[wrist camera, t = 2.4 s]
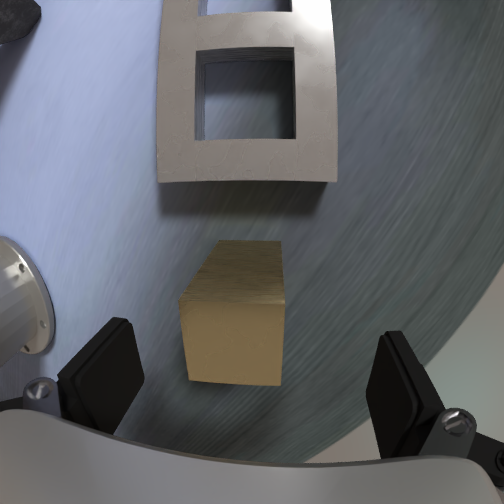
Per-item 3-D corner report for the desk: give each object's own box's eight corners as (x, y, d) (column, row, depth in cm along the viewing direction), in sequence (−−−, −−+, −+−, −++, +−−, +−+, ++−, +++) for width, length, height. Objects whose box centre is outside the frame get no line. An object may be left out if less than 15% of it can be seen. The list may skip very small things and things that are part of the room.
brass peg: (279, 297, 21) (280, 385, 12) (221, 296, 21) (189, 380, 12) (280, 241, 20) (285, 304, 11) (219, 240, 20) (178, 300, 11)
